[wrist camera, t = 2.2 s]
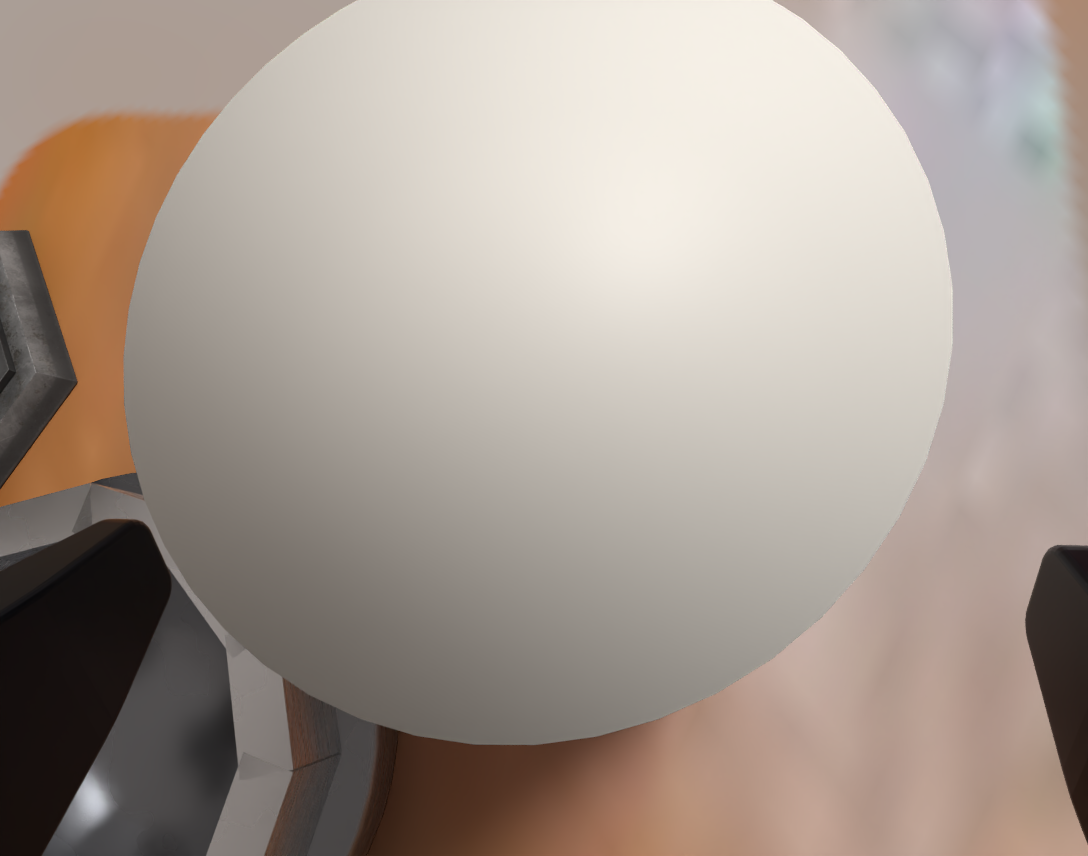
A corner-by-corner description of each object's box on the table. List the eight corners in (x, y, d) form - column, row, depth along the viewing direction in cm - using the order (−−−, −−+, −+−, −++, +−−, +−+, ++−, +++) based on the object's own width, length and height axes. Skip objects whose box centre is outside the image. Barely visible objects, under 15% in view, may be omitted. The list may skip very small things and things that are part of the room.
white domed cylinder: (836, 517, 16) (1180, 280, 5) (622, 723, 16) (459, 980, 5) (631, 324, 18) (530, -183, 7) (435, 508, 18) (-16, 312, 6)
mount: (501, 751, 16) (453, 785, 13) (106, 1129, 16) (-47, 1263, 13) (213, 391, 20) (115, 344, 16) (-123, 701, 19) (-294, 719, 16)
